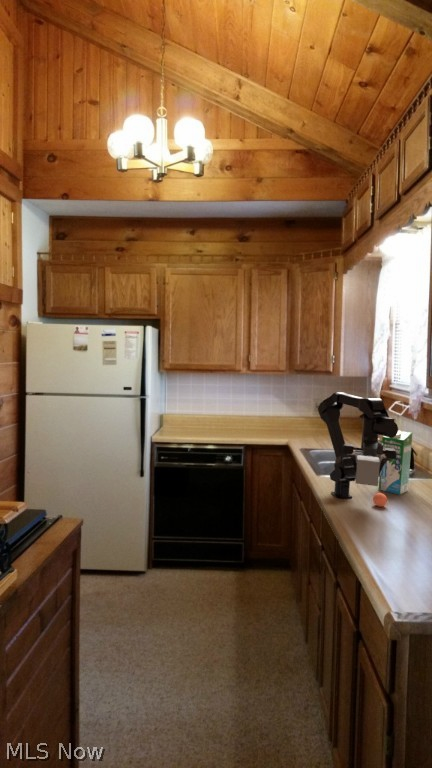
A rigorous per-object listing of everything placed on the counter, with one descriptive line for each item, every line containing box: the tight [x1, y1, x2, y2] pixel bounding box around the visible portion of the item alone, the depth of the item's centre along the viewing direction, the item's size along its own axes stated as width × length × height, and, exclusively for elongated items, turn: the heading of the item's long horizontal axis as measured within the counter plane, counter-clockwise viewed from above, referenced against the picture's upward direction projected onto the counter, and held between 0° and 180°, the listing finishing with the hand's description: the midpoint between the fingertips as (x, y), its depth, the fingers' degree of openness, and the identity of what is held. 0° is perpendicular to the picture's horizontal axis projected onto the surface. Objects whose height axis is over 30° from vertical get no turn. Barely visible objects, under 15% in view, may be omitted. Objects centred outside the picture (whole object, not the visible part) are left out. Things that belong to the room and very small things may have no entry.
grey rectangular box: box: [354, 454, 380, 487], centre depth 170 cm, size 8×8×9 cm
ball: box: [372, 492, 388, 508], centre depth 172 cm, size 5×5×5 cm
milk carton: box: [377, 429, 413, 496], centre depth 193 cm, size 9×9×25 cm
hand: (366, 473), depth 170 cm, fingers closed on grey rectangular box, 8 cm apart
